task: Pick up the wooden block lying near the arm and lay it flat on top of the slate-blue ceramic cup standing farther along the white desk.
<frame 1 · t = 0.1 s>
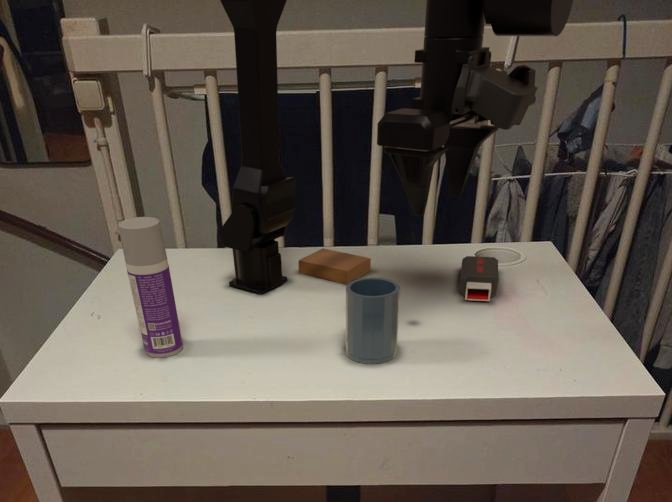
hand: (438, 205, 70), 15 cm above the table, tool pointing down, fingers open, 9 cm apart
usb drive: (477, 287, 90), on the table
wooden block: (334, 272, 96), on the table
cup: (370, 352, 74), on the table
container: (164, 350, 77), on the table
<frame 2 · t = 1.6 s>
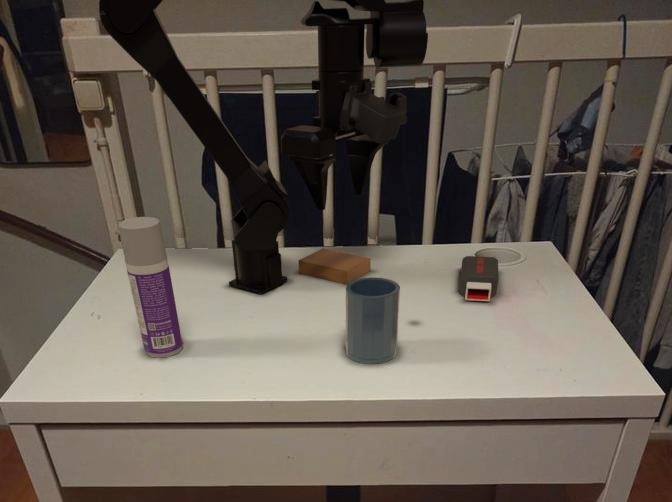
hand: (340, 202, 88), 11 cm above the table, tool pointing down, fingers open, 9 cm apart
nothing on the table moved.
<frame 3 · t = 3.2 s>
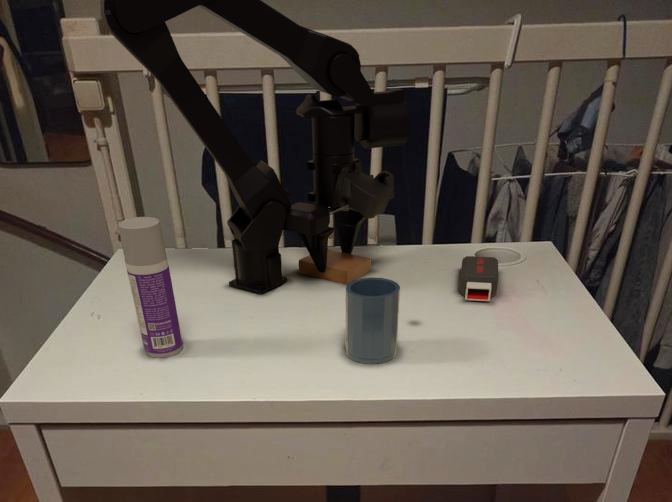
hand: (334, 265, 95), 1 cm above the table, tool pointing down, fingers closed on wooden block, 6 cm apart
wooden block: (334, 272, 96), on the table, touching gripper
everything else where it was.
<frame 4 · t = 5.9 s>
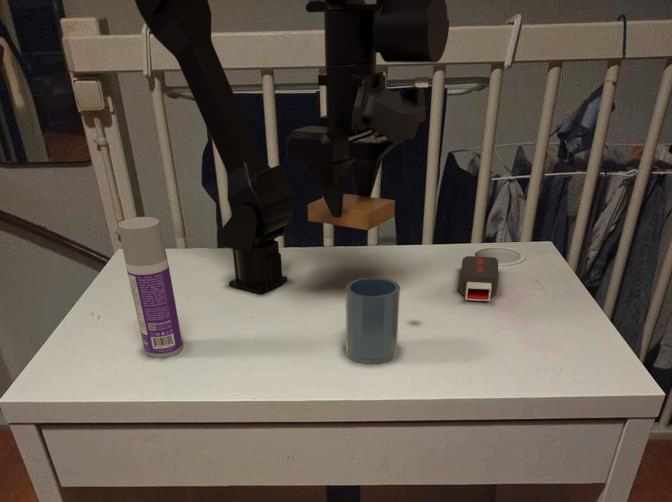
hand: (350, 210, 79), 12 cm above the table, tool pointing down, fingers closed on wooden block, 6 cm apart
wooden block: (351, 218, 79), point 11 cm above the table, touching gripper
everything else where it was.
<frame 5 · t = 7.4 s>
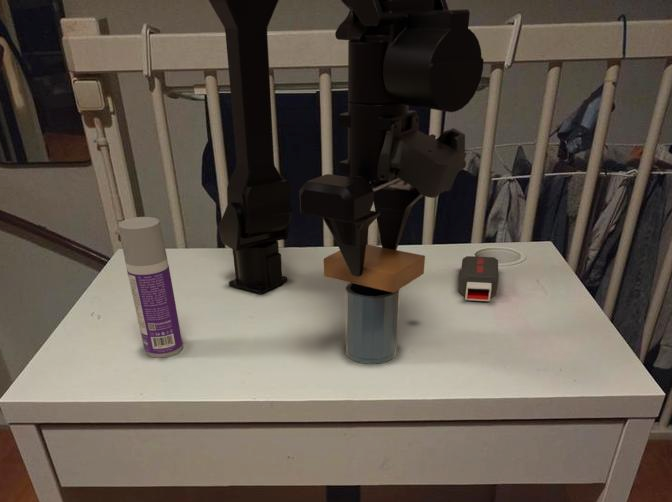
hand: (373, 266, 68), 10 cm above the table, tool pointing down, fingers closed on wooden block, 6 cm apart
wooden block: (373, 275, 69), point 9 cm above the table, touching gripper
everything else where it was.
when the fingers open (9 cm above the table, at t = 8.4 s): wooden block stays where it is, resting on cup.
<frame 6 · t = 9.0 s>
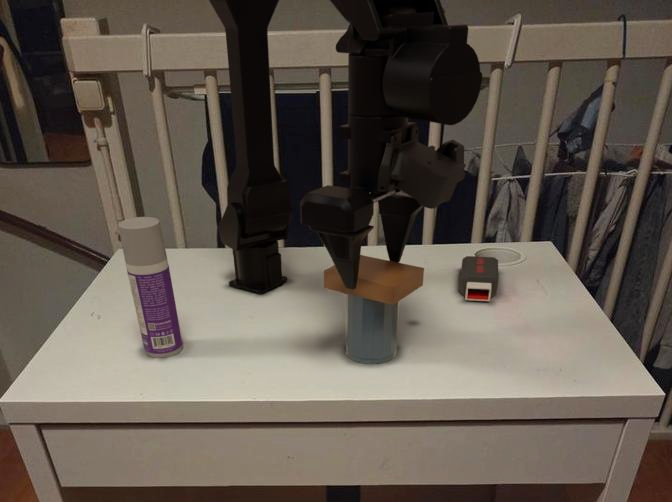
hand: (373, 275, 68), 9 cm above the table, tool pointing down, fingers open, 9 cm apart
wooden block: (373, 286, 69), point 8 cm above the table, touching cup
cup: (370, 352, 74), on the table, touching wooden block
everything else where it was.
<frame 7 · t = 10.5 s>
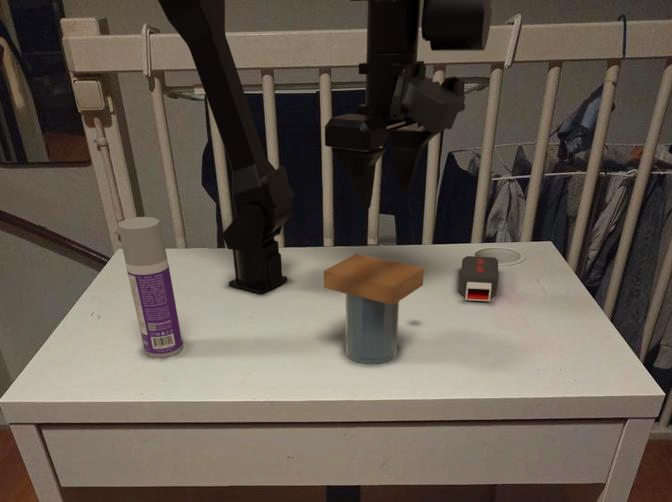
hand: (385, 199, 79), 13 cm above the table, tool pointing down, fingers open, 9 cm apart
nothing on the table moved.
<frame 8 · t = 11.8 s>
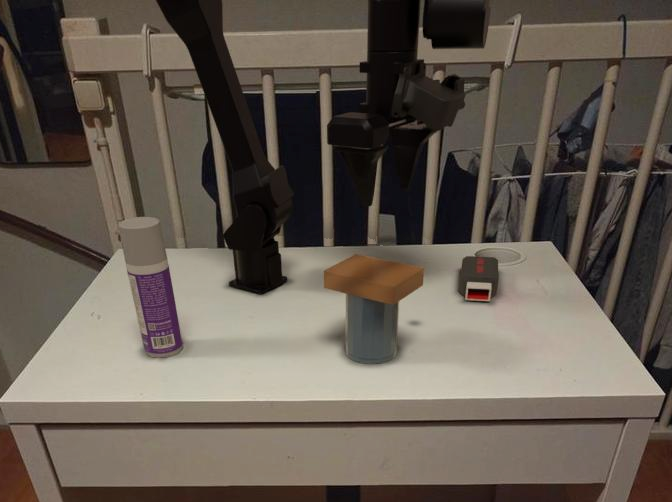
hand: (386, 197, 80), 13 cm above the table, tool pointing down, fingers open, 9 cm apart
nothing on the table moved.
at the end: wooden block 0.1 cm off-centre on the cup, point 8.0 cm above the cup's base; wooden block tilted 0°; cup tilted 0° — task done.
